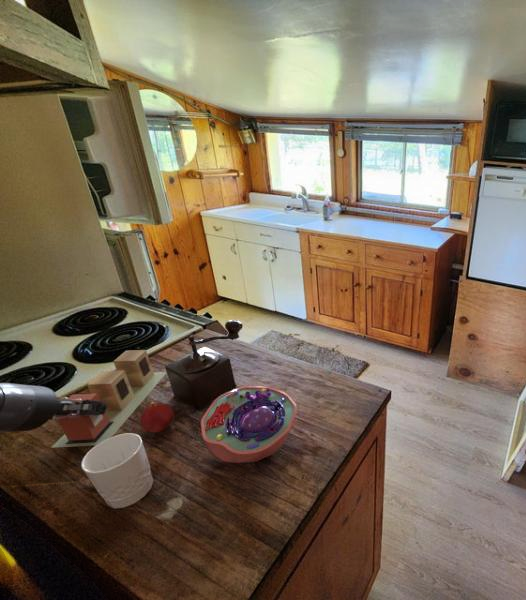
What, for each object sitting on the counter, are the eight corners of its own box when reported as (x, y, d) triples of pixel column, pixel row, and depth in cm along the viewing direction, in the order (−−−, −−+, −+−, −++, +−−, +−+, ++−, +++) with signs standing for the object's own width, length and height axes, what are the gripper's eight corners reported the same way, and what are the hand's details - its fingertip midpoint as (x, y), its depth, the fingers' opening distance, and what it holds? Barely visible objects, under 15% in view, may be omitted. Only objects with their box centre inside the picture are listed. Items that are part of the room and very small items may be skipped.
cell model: (267, 400, 81) (261, 363, 76) (316, 445, 69) (312, 405, 64) (193, 441, 69) (180, 400, 64) (237, 503, 57) (224, 459, 53)
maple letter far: (123, 387, 82) (113, 361, 79) (135, 375, 86) (125, 350, 83) (144, 386, 83) (135, 360, 79) (155, 374, 87) (146, 349, 84)
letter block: (68, 440, 67) (52, 411, 63) (86, 423, 71) (71, 394, 68) (94, 439, 67) (80, 410, 64) (110, 421, 72) (98, 393, 68)
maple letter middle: (99, 412, 74) (86, 384, 71) (113, 397, 79) (102, 370, 75) (122, 411, 75) (111, 383, 72) (135, 396, 79) (125, 370, 76)
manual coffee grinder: (200, 413, 76) (181, 349, 68) (172, 396, 80) (152, 334, 73) (255, 377, 88) (245, 319, 81) (229, 364, 93) (216, 308, 85)
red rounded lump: (138, 437, 69) (126, 409, 66) (162, 418, 74) (152, 390, 71) (161, 443, 68) (150, 415, 65) (183, 423, 73) (174, 395, 70)
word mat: (51, 449, 66) (50, 447, 66) (127, 374, 87) (127, 372, 87) (105, 446, 67) (104, 444, 67) (167, 373, 88) (167, 371, 88)
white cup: (98, 521, 54) (75, 481, 50) (106, 483, 60) (86, 444, 56) (156, 497, 58) (139, 459, 53) (158, 464, 64) (143, 426, 59)
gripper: (63, 382, 55) (130, 390, 71) (-33, 385, 54) (57, 393, 69) (49, 429, 53) (122, 426, 69) (-53, 434, 51) (46, 430, 67)
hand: (89, 409), depth 69 cm, fingers closed on letter block, 5 cm apart
